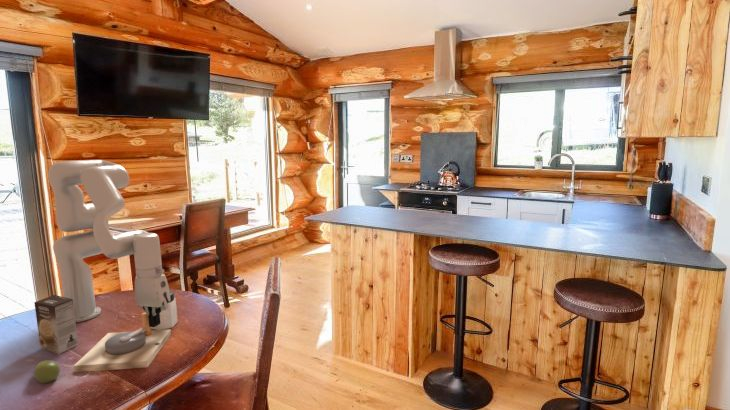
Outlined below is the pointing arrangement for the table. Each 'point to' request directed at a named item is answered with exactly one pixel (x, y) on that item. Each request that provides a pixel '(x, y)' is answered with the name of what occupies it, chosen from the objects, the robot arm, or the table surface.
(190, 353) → the table surface
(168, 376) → the table surface
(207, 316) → the table surface
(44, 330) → the coffee box
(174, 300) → the jar
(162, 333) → the board
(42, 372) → the pear
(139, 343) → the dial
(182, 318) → the table surface
